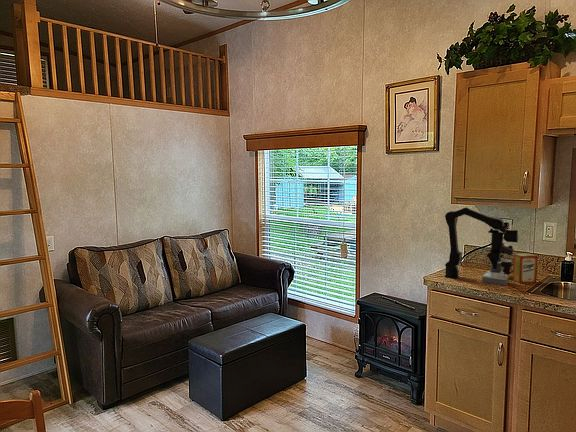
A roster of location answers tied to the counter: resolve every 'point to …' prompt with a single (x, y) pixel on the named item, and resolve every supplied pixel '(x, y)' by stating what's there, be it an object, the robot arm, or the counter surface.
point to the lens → (498, 268)
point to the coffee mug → (506, 266)
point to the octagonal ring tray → (495, 278)
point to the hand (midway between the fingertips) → (495, 268)
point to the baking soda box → (525, 268)
